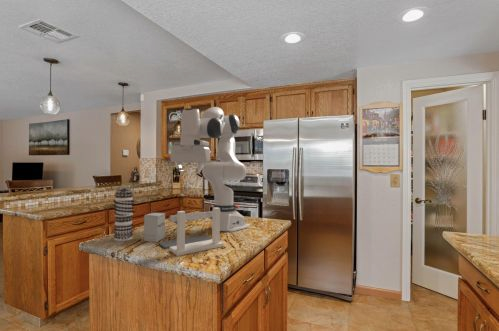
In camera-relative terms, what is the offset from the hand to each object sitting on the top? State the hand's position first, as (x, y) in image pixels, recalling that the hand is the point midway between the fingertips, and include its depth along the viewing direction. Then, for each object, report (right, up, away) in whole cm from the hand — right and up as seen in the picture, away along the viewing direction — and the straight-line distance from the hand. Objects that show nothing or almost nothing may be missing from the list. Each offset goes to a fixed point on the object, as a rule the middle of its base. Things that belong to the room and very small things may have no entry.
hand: (189, 172), depth 123 cm
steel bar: (+4, -21, -4) cm, 22 cm away
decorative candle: (-35, -33, +8) cm, 49 cm away
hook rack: (+5, -34, -5) cm, 35 cm away
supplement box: (-19, -34, +8) cm, 39 cm away
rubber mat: (-2, -34, +4) cm, 34 cm away
